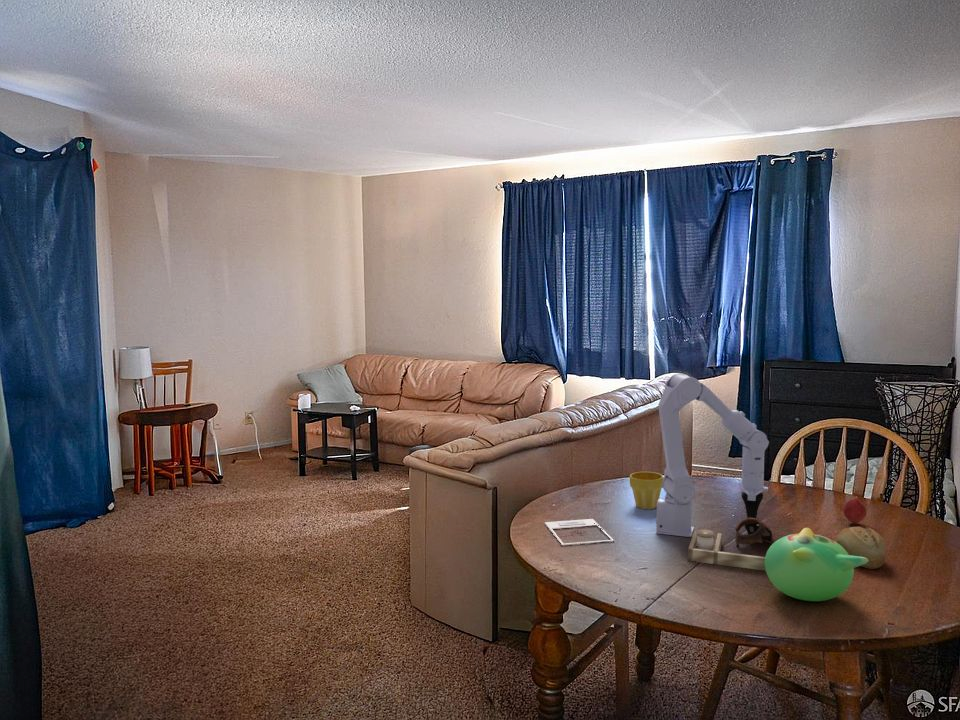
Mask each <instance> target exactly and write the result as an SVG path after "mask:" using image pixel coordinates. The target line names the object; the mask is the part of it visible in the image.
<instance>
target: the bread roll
mask: <svg viewBox="0 0 960 720" xmlns="http://www.w3.org/2000/svg"><path fill="white" fill-rule="evenodd" d="M835 542H836V543H838V544H839V545H841V546H842V547H843V548H844V549H845V550H846V552H847V553H848V554H849V555H851V556H860V557H865V558H867V559H868V562H867V563H866V564H864V565H861V566H860V567H863V568H865V569H868V570H875V569H879V568H881V567H882V566H884V564H885V562H886V560H887V558H888V557H887V553H888V551H887V547H886V542H885V541H884V539H883V537H882V536H881V535H880V534H879V532H877V531H875V529H873V528H871V527H868V526H865V525H864V526H850V527H846V528H844V529H841V530H840V532H838V534H837V535H836V540H835Z"/></svg>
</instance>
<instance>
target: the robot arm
mask: <svg viewBox="0 0 960 720" xmlns="http://www.w3.org/2000/svg"><path fill="white" fill-rule="evenodd" d="M663 389H664V390H663V392H662V395H661V397H660V400H659V403H658V414H659V420H660V421H659V422H660V430H661V436H662V443H663V445H662V446H663V453H664V460H665V466H666V467H665V468H664V470H663V472H664V475H663V477H664V480H663V484H662V485H663V488H662V489H663V490H664V492H665V496H664V498H659V499H658V502H657V508H656V522H655V523H656V526H655V528H656V531H655V533H656V534H658V535H659V534H660V535H668V536H677V537H686V538H692V536H693V533H694V529H695V527H694V526H692V515H693V511H692V507H693V504H692V503H693V500H694V498H695V497H696V496H695V495H696V488H695V486H694V484H692V481H691V476H690V474H689V471H688V469H687V466H686V459H685V453H684V451H685V450H684V444H683V436H682V428H681V421H680V414H679V413H680V411H681V410H682V409H683V408H684V407H685V406H686V405H688V404H690V403H691V402H693V401H695V400H697V401H698V402H703V404H705V405H706V406H707V407H708V408H710V410H712V411H713V412H714V413H715V414H717V415H718V416H719V417H720V418H721V424H722V426H723V427H724V428H726V430H727V431H728V432H730V433H731V434H732V435H733V436H734V437H735V438H736V439H737V440H738V442H739V444H740V445H742V454H741V456H742V457H741V458H742V459H741V462H742V464H741V485H740V489H741V490H742V491H741V495H740V496H741V499H742V500H743V503H744V507H745V512H746V518H748V517H752V518H757V516H758V512H759V511H758V510H759V508H760V505H761V502H762V501H763V499H764V492H768V490H769V487H768V486H764V481H765V480H764V479H765V478H764V477H765V452H766V450H767V448H768V447H769V444H770V441H769V440H768V436H767V434H766V433H765V432H763V431H761V430H759V429H757V427H758V426H757V425H756V423H754V422H751V421H750V420H749V419H748V418H746V413H744V412H743V411H741V410H740V411H739V410H738V409H730V408H729V407H728V406H727V405H726V404H725V403H724V402H723V401H722V400H721V399H720V398H719V397H718V396H717V395H716V394H715V393H714V392H713V391H712V390H711V389H710V388H709V387H708V386H707V385H706V384H703V383H701V382H700V381H699V379H697V378H695V377H693V376H688V375H686V374H684V373H681V372H678V373H675V374H673V375H671V377H669V378H668V379H667V380H666V381H665V383H664V388H663Z"/></svg>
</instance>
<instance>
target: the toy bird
mask: <svg viewBox="0 0 960 720" xmlns="http://www.w3.org/2000/svg"><path fill="white" fill-rule="evenodd" d="M774 541H775V542H774V543H773V544H772V543H771V545H770V546H769V548H768V549H767V550H766V554H765V556H764V557H765V569H766V571H765V573H766V575H767V577H768V579H769V581H770V583H771V584H772V585H773V586H774V587H775V588H776V589H777V590H779V592H781V593H782V594H785V595H786V596H789V597H790V598H793V599H797V600H800V601H806V602H824V601H829V600H831V599H834V598H837V597H839V596H841V595H842V594H843V593H845V592H846V591H847V590H848V589H849V587H850V586H851V584H852V582H853V581H854V575H855V571H854V569H855V568H857V567H858V568H859V567H862V566H861V565H864V564H866V563H867V562H868V559H867V558H865V557H860V556H851V555H849V554H848V553H847V552H846V550H845V549H844V548H843V547H842V546H841V545H839V544H838V543H837V542H836V540H833V539H831V538H829V537H826V536H823V535H819V534H815V533H814V531H812V529H811V528H809V527H804V528H802V529H801V531H799V533H792V534H788V535H785V536H783V537H780V538H779V539H778V538H777V540H774Z"/></svg>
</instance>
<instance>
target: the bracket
mask: <svg viewBox="0 0 960 720" xmlns="http://www.w3.org/2000/svg"><path fill="white" fill-rule="evenodd" d="M722 537H723V533H720V532H718V533H717V536H716V540H715V544H714V547H713V551H711V550H702V549H697V547H696V546H697V530H696V529H695V530H693V533H692V536H691V540H690V543H689V546H688V549H687V550H688V552H687V553H688V554H687V555H688V557H687V558H688V559H687V560H689V561H688V562H694V561H696V562H695V563H701V564H702V563H703V564H704V563H705V564H710V565H718V566H727V567H734V568H743V569H751V570H758V571H765V572H766V569H765V556H759V555H752V554H751V555H750V554H742V553H735V552H727V551H726V552H725V551H721V549H722V540H723V539H722Z"/></svg>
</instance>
